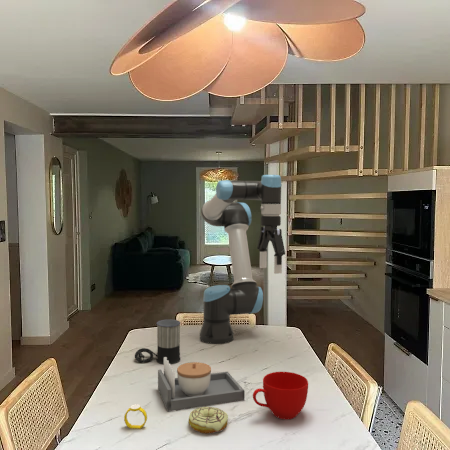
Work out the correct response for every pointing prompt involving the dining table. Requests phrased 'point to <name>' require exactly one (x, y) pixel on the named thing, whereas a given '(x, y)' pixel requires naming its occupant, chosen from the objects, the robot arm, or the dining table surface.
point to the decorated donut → (208, 419)
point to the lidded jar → (194, 378)
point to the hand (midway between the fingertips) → (270, 270)
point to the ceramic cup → (284, 393)
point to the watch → (135, 408)
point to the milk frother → (164, 343)
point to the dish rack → (215, 394)
